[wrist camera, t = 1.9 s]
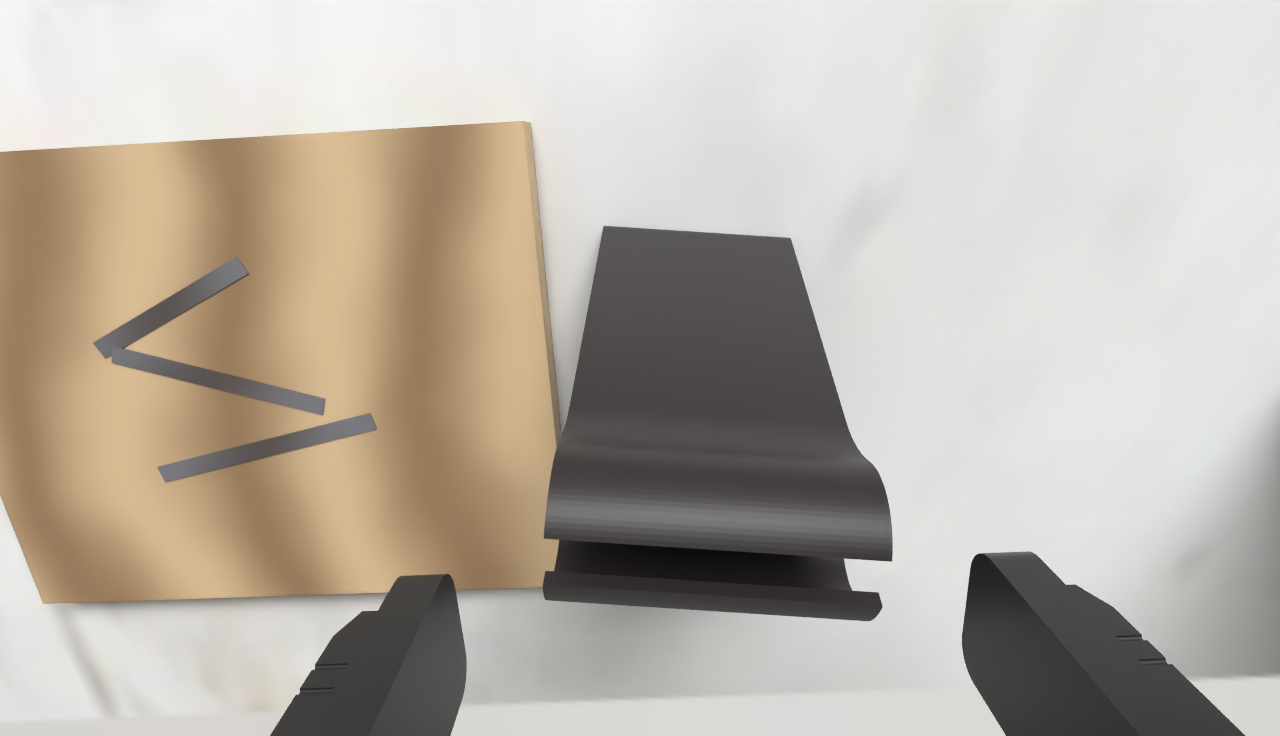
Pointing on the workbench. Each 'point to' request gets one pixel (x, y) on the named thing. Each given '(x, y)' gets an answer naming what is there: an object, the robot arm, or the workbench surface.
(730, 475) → the phone stand
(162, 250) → the oak board
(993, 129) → the workbench surface
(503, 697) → the workbench surface
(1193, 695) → the robot arm
